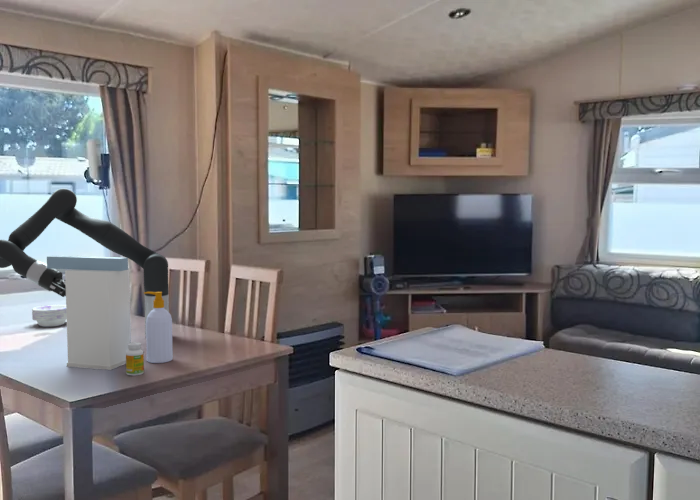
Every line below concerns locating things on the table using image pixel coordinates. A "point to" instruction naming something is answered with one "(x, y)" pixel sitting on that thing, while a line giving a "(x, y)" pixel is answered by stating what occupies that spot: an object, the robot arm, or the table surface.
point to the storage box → (97, 318)
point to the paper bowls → (50, 315)
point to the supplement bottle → (134, 359)
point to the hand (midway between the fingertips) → (85, 297)
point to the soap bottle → (159, 332)
